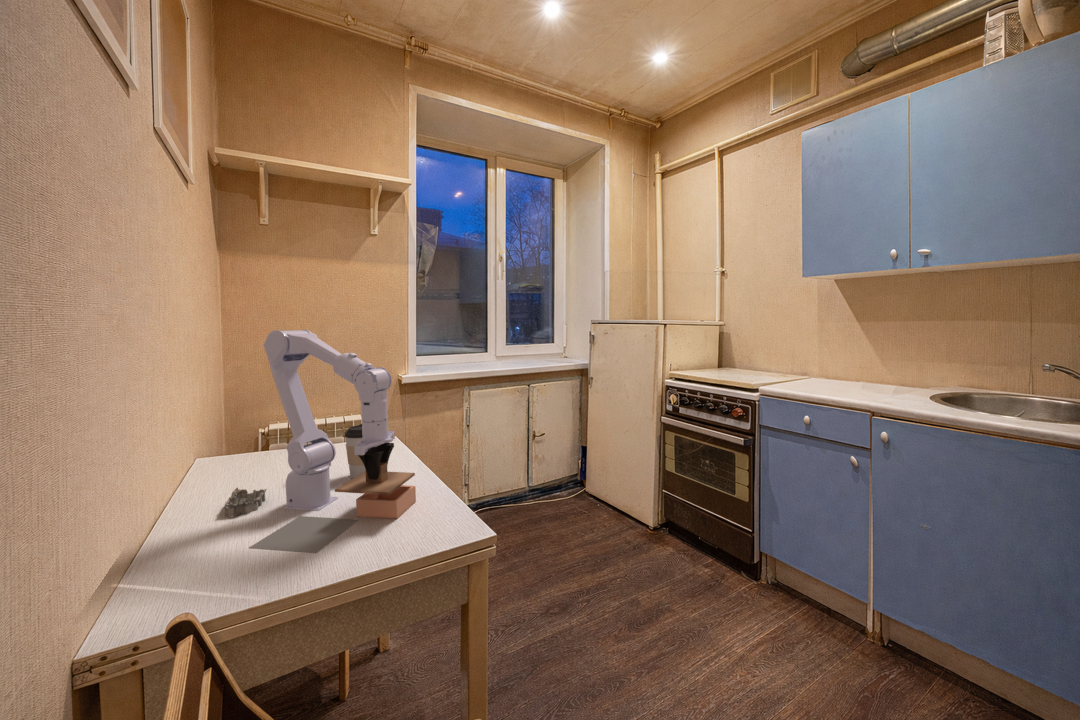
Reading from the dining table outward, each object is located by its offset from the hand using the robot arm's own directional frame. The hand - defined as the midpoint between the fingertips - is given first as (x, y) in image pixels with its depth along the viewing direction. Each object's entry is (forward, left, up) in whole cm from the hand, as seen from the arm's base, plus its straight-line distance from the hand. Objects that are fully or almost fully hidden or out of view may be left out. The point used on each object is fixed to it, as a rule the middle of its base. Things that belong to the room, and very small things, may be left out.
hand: (377, 476), depth 105 cm
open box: (+1, +2, -9) cm, 9 cm away
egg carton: (-35, -1, -9) cm, 36 cm away
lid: (0, 0, -2) cm, 2 cm away
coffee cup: (-19, +25, -9) cm, 32 cm away
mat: (-10, -12, -9) cm, 18 cm away
